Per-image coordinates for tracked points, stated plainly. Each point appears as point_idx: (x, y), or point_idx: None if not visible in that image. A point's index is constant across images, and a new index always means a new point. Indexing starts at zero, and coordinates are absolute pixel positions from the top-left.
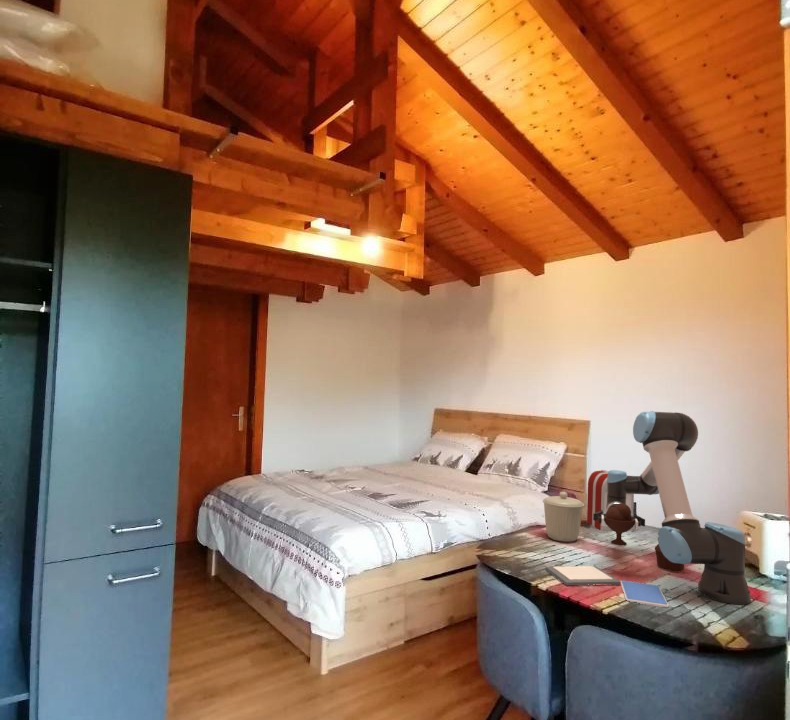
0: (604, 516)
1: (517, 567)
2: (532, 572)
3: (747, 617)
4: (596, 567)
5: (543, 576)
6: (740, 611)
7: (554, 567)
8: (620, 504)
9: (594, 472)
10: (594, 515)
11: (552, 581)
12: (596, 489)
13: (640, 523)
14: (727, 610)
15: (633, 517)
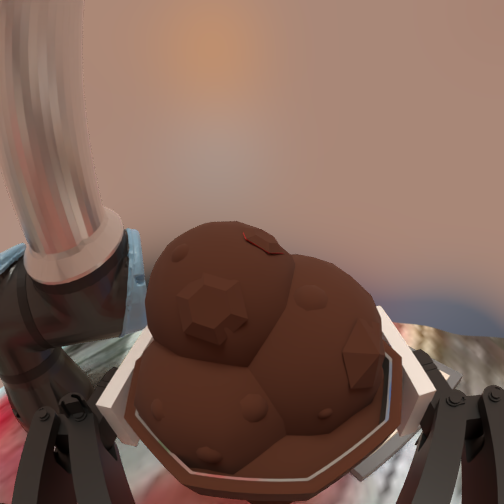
0: (387, 347)
1: (497, 354)
2: (464, 353)
3: (91, 343)
4: (357, 465)
5: (438, 351)
6: (83, 356)
7: (444, 373)
8: (242, 223)
9: None
10: (485, 394)
11: (412, 342)
12: None
13: (113, 373)
14: (100, 355)
15: (90, 465)
